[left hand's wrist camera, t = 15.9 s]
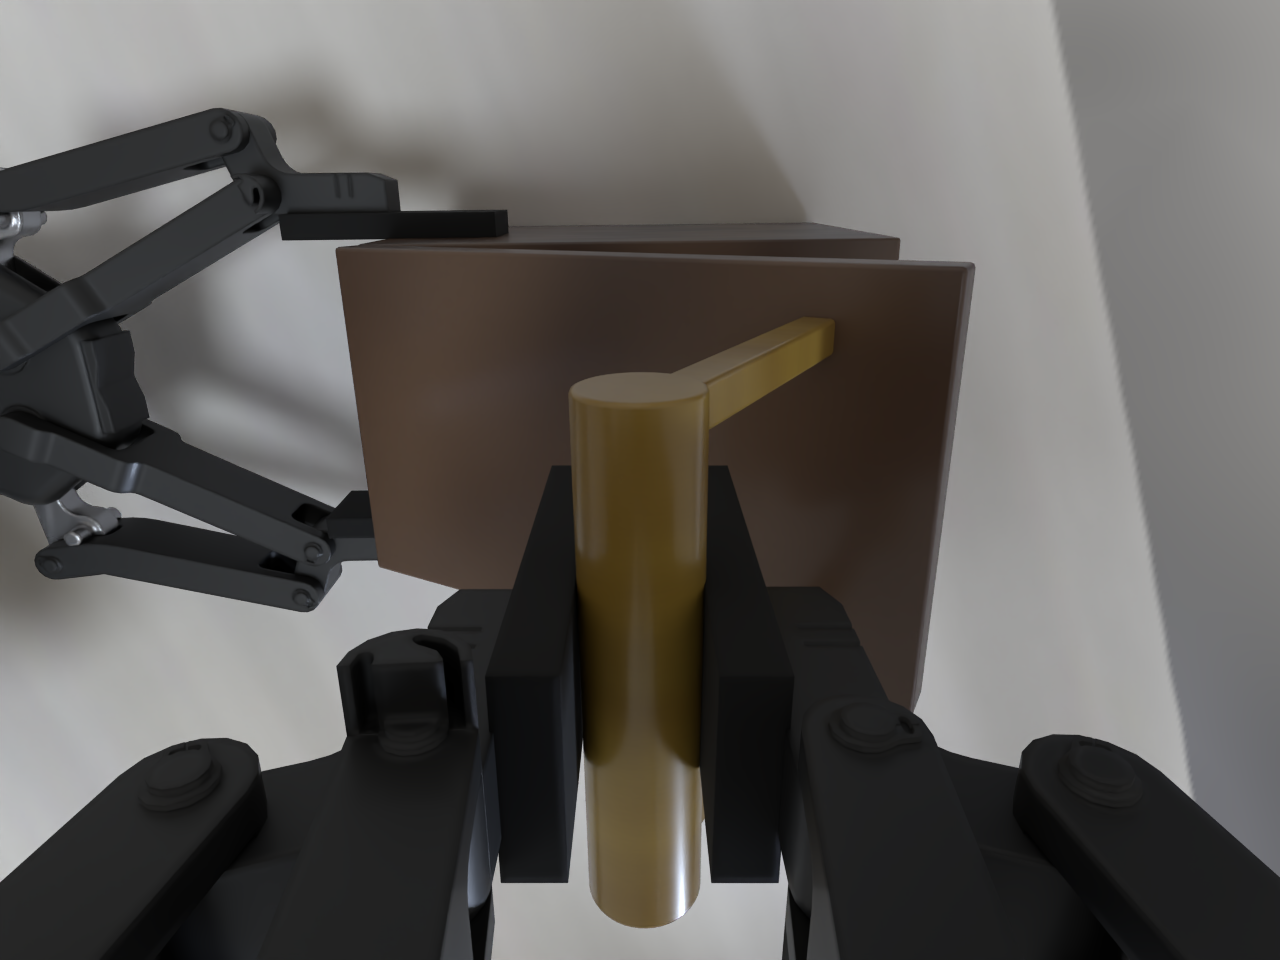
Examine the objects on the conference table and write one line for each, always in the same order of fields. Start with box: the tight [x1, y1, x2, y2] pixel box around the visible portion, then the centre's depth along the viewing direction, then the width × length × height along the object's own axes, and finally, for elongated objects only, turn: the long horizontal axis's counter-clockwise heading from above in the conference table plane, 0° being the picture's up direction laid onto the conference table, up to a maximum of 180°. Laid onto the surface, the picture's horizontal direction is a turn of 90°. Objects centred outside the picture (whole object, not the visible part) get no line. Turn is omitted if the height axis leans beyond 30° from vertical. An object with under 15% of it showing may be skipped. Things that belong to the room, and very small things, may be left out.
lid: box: [336, 245, 975, 928], centre depth 16 cm, size 15×9×9 cm
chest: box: [360, 223, 900, 260], centre depth 28 cm, size 15×9×11 cm, turn 91°
